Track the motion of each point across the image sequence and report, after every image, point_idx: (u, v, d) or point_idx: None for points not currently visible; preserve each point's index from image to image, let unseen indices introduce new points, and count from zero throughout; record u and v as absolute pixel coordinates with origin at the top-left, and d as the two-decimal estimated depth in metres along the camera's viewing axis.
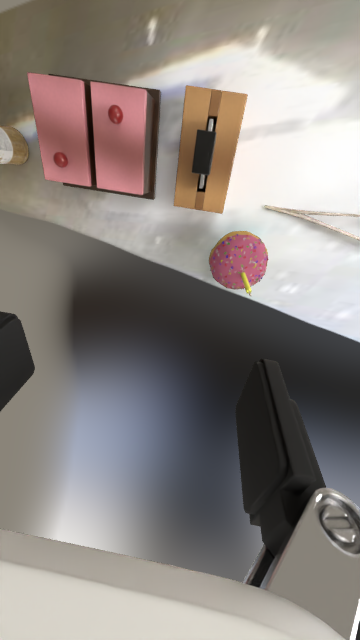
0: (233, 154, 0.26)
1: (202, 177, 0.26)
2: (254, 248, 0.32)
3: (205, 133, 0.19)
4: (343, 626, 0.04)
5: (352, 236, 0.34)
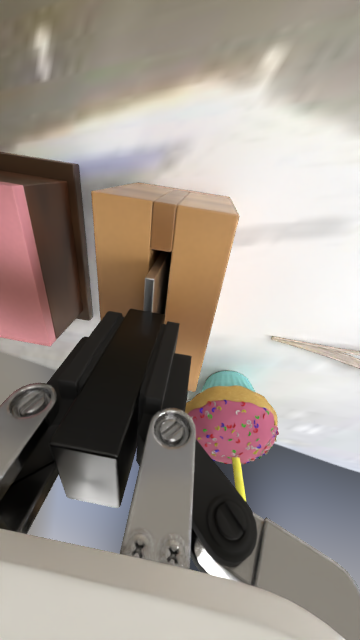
0: (211, 316, 0.12)
1: None
2: (255, 427, 0.18)
3: (80, 455, 0.05)
4: (185, 497, 0.05)
5: None
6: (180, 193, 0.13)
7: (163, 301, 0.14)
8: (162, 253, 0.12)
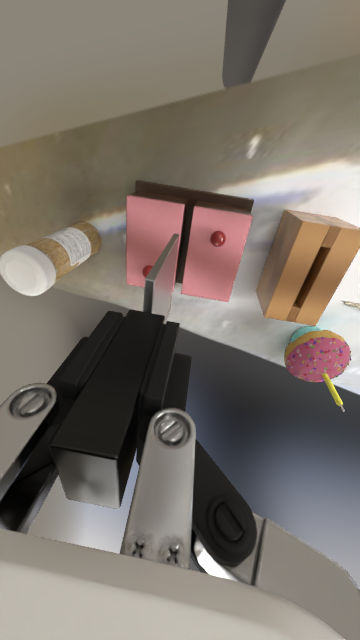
0: (340, 279, 0.25)
1: None
2: (340, 352, 0.31)
3: (80, 456, 0.05)
4: (184, 497, 0.05)
5: None
6: (320, 217, 0.25)
7: (163, 302, 0.14)
8: (162, 254, 0.12)
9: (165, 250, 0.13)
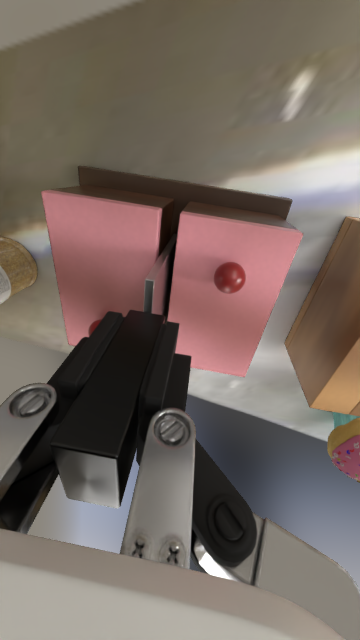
0: None
1: None
2: None
3: (80, 455, 0.05)
4: (184, 497, 0.05)
5: None
6: None
7: (163, 302, 0.14)
8: (162, 254, 0.12)
9: (165, 250, 0.13)
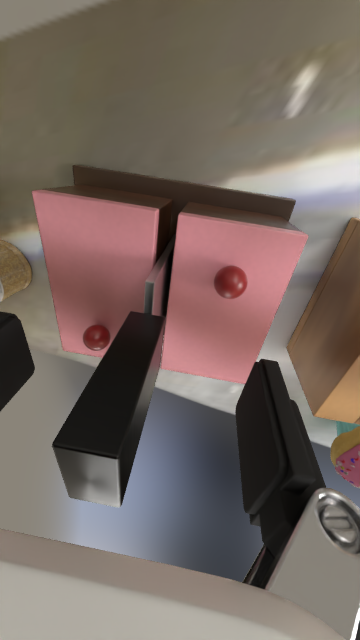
0: None
1: None
2: None
3: (82, 455, 0.05)
4: (343, 626, 0.04)
5: None
6: None
7: (163, 303, 0.14)
8: (162, 256, 0.12)
9: (165, 251, 0.13)
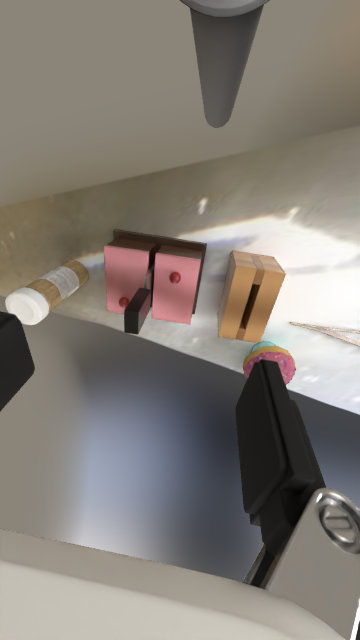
0: (271, 308, 0.31)
1: None
2: (285, 364, 0.37)
3: (130, 312, 0.25)
4: (343, 626, 0.04)
5: None
6: (256, 259, 0.32)
7: (151, 287, 0.33)
8: (150, 268, 0.32)
9: (152, 266, 0.33)
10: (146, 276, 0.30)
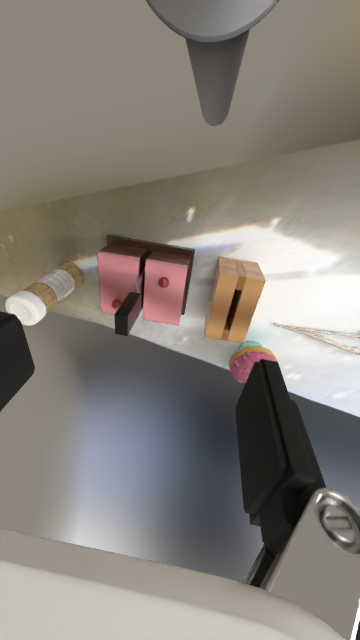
0: (253, 311, 0.34)
1: None
2: None
3: (120, 316, 0.27)
4: (343, 626, 0.04)
5: (345, 348, 0.42)
6: (240, 265, 0.35)
7: (142, 290, 0.36)
8: (141, 273, 0.34)
9: (142, 271, 0.35)
10: (136, 281, 0.32)
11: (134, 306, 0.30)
